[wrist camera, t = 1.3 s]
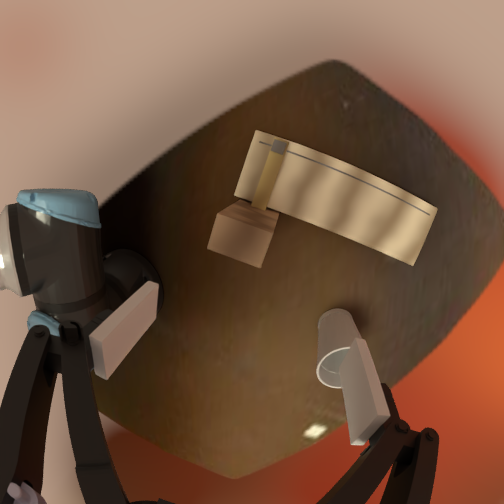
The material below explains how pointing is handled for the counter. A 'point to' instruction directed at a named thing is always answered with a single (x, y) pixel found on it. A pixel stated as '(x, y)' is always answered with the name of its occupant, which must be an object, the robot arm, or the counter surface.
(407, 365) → the counter surface
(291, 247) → the counter surface
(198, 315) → the counter surface
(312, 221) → the board
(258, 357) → the counter surface
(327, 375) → the cup
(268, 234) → the gauge
